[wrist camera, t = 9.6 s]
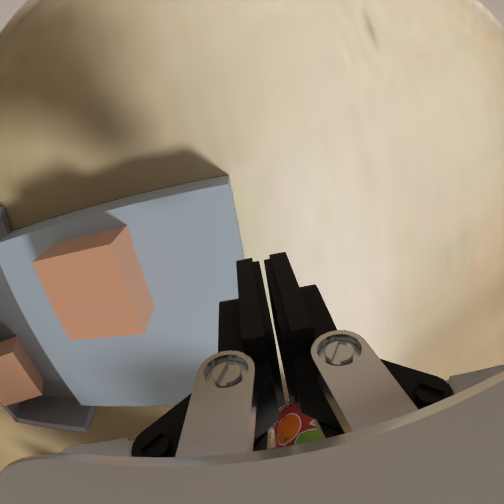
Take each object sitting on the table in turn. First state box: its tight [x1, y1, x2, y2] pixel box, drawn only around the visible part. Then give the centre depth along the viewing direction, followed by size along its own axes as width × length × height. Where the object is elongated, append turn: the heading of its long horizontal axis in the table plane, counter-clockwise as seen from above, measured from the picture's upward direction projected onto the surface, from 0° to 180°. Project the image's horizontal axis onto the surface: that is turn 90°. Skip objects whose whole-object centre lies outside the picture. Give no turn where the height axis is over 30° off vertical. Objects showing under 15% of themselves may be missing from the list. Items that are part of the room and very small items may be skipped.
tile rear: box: [0, 336, 43, 406], centre depth 19 cm, size 5×5×2 cm
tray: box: [0, 206, 97, 433], centre depth 18 cm, size 10×19×4 cm, turn 9°
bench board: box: [0, 175, 245, 406], centre depth 19 cm, size 16×15×2 cm
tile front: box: [32, 225, 155, 340], centre depth 15 cm, size 5×5×2 cm
